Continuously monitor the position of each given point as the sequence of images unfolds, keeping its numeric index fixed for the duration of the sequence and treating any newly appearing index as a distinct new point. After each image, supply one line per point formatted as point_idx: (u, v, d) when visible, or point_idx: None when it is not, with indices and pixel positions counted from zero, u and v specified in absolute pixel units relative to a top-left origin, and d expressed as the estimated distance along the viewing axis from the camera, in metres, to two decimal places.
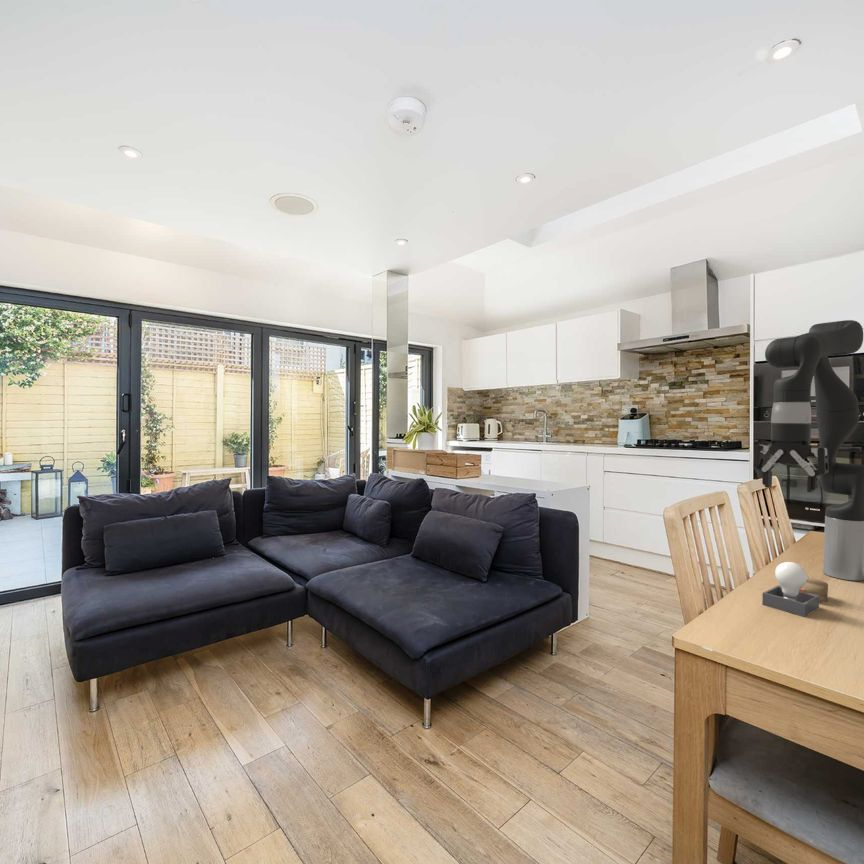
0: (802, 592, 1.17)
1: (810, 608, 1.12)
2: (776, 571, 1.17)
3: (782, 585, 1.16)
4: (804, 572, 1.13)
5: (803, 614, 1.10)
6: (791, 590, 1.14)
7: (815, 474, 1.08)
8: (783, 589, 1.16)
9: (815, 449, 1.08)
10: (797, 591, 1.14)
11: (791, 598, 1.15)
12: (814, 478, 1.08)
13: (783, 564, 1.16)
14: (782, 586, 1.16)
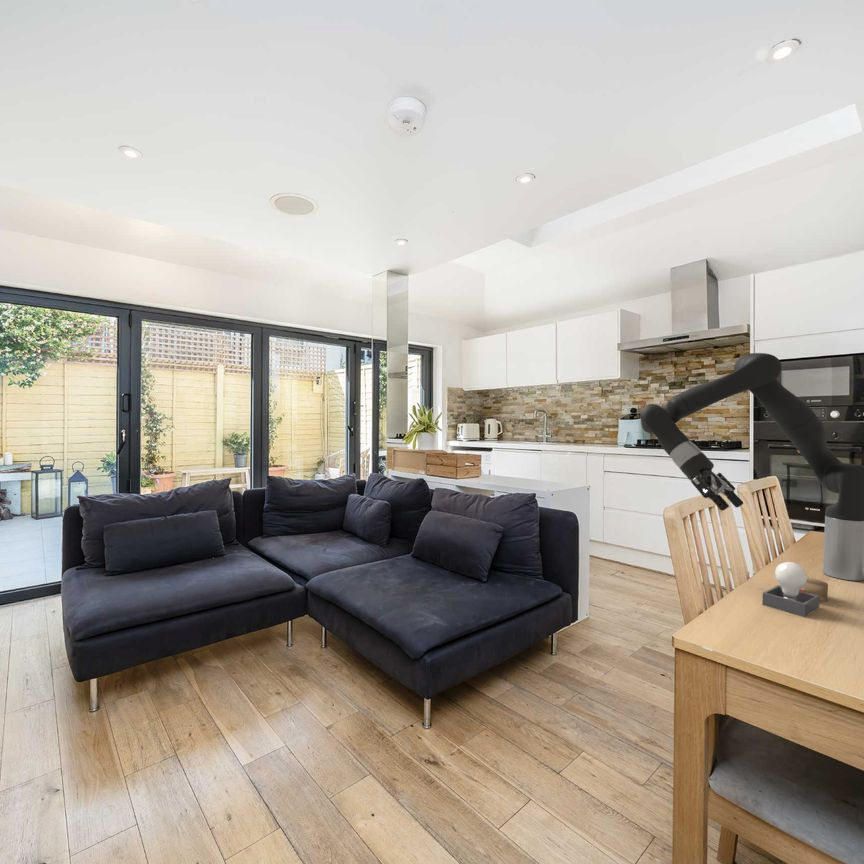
0: (802, 592, 1.17)
1: (810, 608, 1.12)
2: (776, 571, 1.17)
3: (782, 585, 1.16)
4: (804, 572, 1.13)
5: (803, 614, 1.10)
6: (791, 590, 1.14)
7: (709, 498, 1.26)
8: (783, 589, 1.16)
9: None
10: (797, 591, 1.14)
11: (791, 598, 1.15)
12: None
13: (783, 564, 1.16)
14: (782, 586, 1.16)
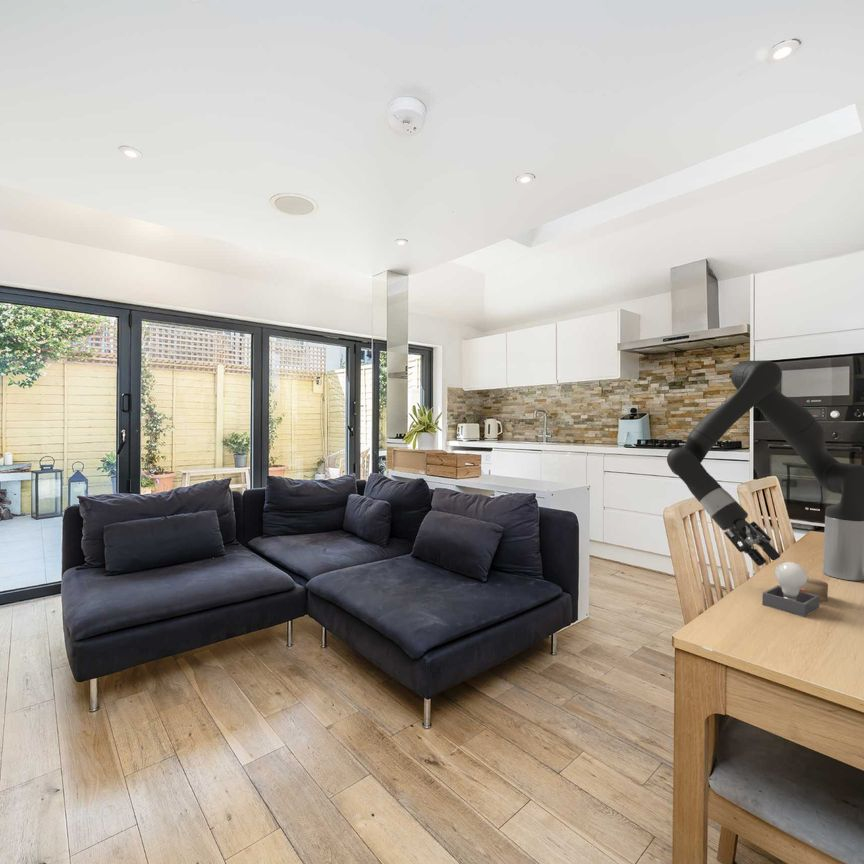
0: (802, 592, 1.17)
1: (810, 608, 1.12)
2: (776, 571, 1.17)
3: (782, 585, 1.16)
4: (804, 572, 1.13)
5: (803, 614, 1.10)
6: (791, 590, 1.14)
7: (745, 551, 1.19)
8: (783, 589, 1.16)
9: None
10: (797, 591, 1.14)
11: (791, 598, 1.15)
12: None
13: (783, 564, 1.16)
14: (782, 586, 1.16)
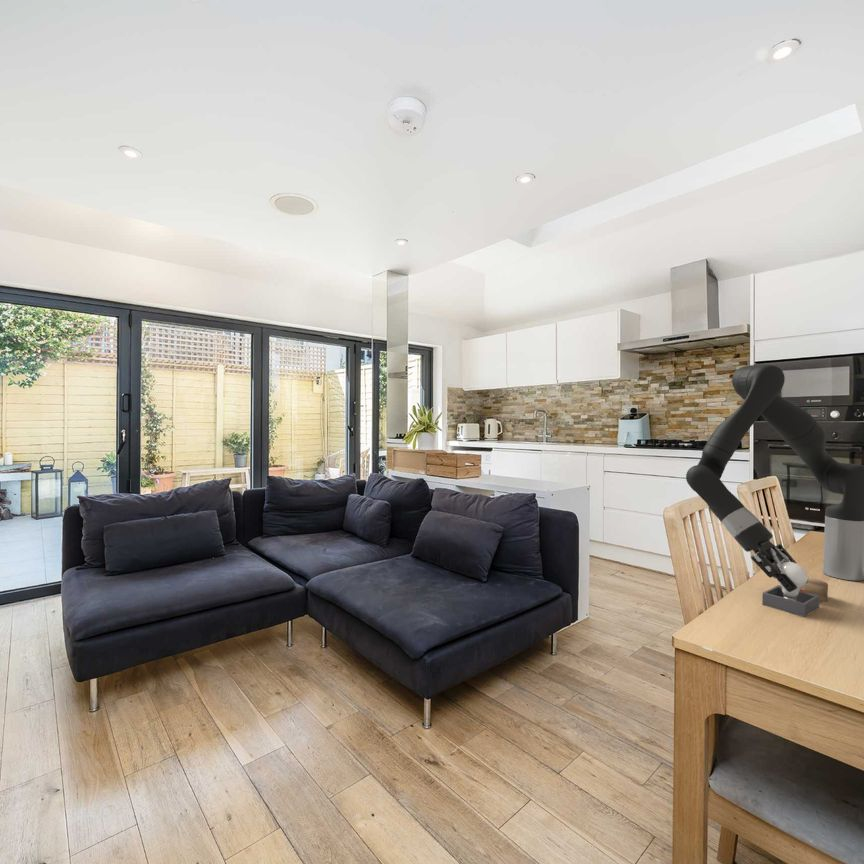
0: (802, 592, 1.17)
1: (810, 608, 1.12)
2: None
3: (782, 585, 1.16)
4: (804, 572, 1.13)
5: (803, 614, 1.10)
6: None
7: (774, 576, 1.15)
8: (783, 589, 1.16)
9: None
10: (797, 591, 1.14)
11: (791, 598, 1.15)
12: None
13: (783, 564, 1.16)
14: (782, 586, 1.16)
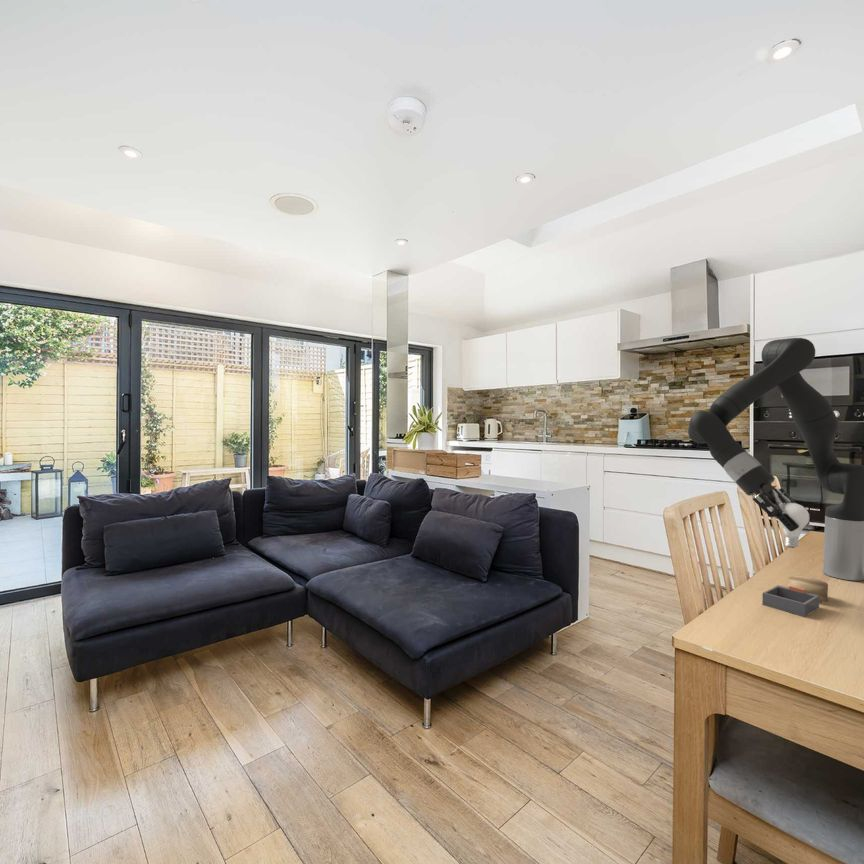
0: (802, 592, 1.17)
1: (810, 608, 1.12)
2: None
3: (784, 526, 1.15)
4: (806, 512, 1.13)
5: (803, 614, 1.10)
6: None
7: (776, 517, 1.14)
8: (785, 530, 1.15)
9: None
10: (799, 531, 1.14)
11: (793, 538, 1.14)
12: None
13: (785, 505, 1.15)
14: (784, 527, 1.15)
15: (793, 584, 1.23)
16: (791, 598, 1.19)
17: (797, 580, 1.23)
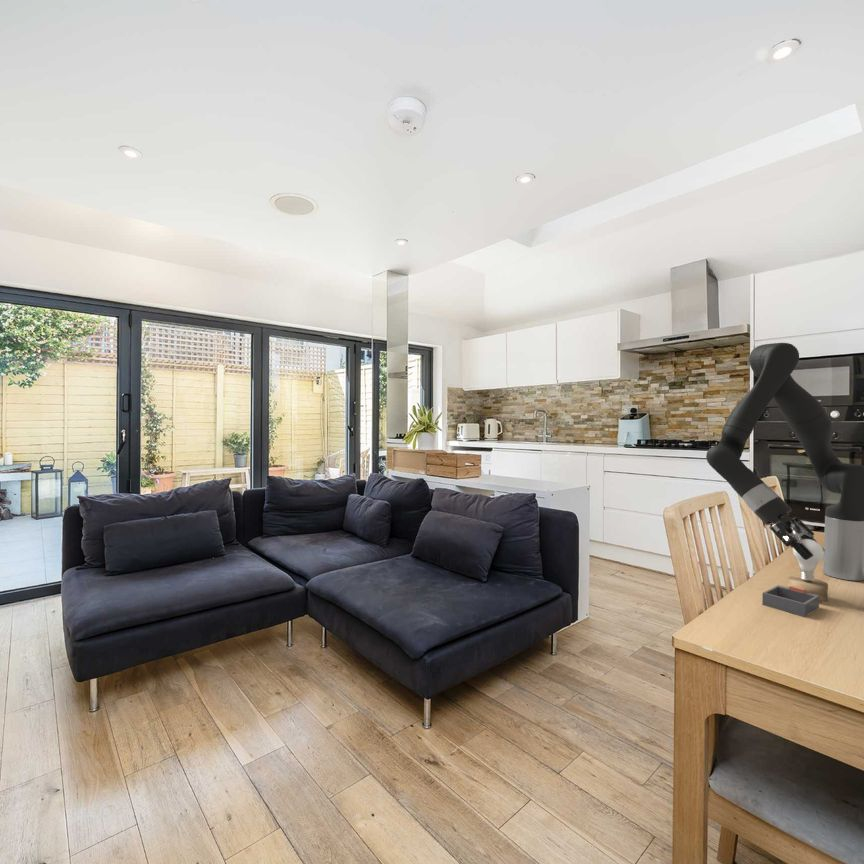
0: (802, 592, 1.17)
1: (810, 608, 1.12)
2: None
3: (800, 561, 1.22)
4: (821, 548, 1.20)
5: (803, 614, 1.10)
6: (808, 565, 1.21)
7: (791, 546, 1.21)
8: (801, 564, 1.23)
9: None
10: (814, 566, 1.21)
11: (808, 573, 1.21)
12: None
13: (801, 541, 1.23)
14: (800, 562, 1.23)
15: (793, 584, 1.23)
16: (791, 598, 1.19)
17: (797, 580, 1.23)
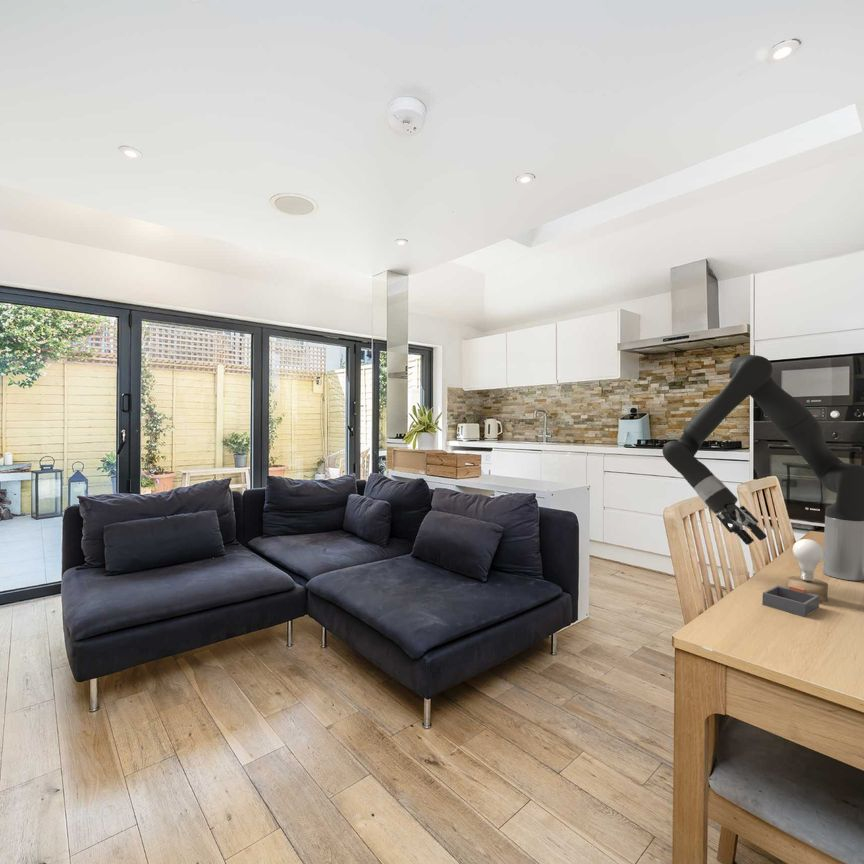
0: (802, 592, 1.17)
1: (810, 608, 1.12)
2: (794, 548, 1.23)
3: (800, 561, 1.22)
4: (821, 548, 1.20)
5: (803, 614, 1.10)
6: (808, 565, 1.21)
7: (734, 532, 1.32)
8: (801, 565, 1.22)
9: None
10: (814, 566, 1.21)
11: (808, 573, 1.21)
12: None
13: (801, 541, 1.22)
14: (800, 562, 1.22)
15: (793, 584, 1.23)
16: (791, 598, 1.19)
17: (797, 580, 1.23)
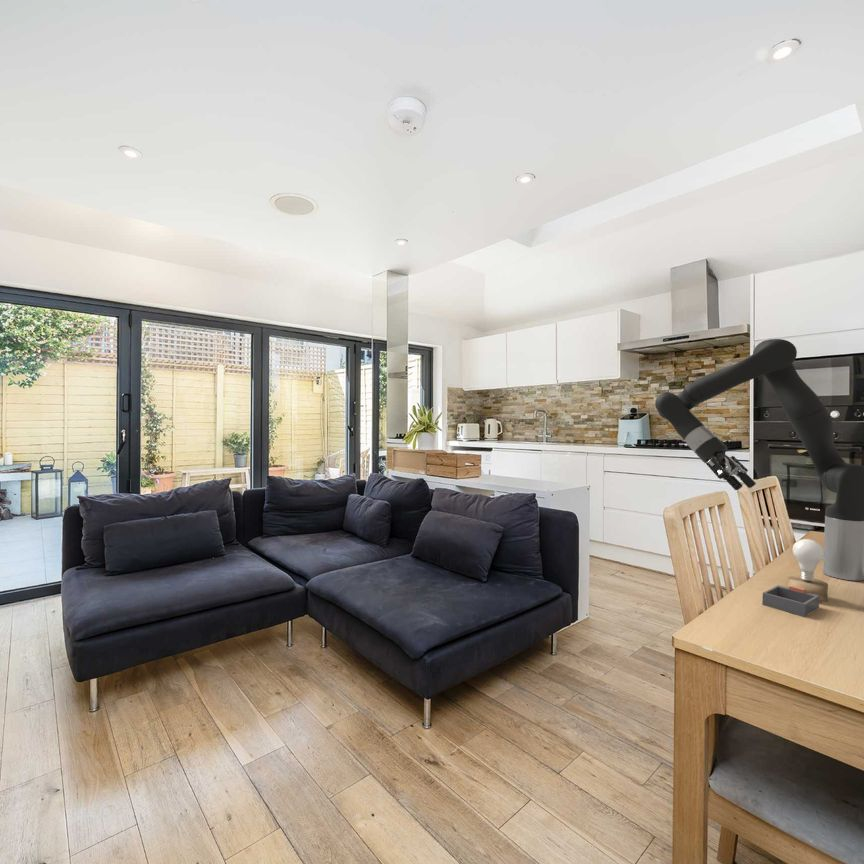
0: (802, 592, 1.17)
1: (810, 608, 1.12)
2: (794, 548, 1.23)
3: (800, 561, 1.22)
4: (821, 548, 1.20)
5: (803, 614, 1.10)
6: (808, 565, 1.21)
7: (724, 478, 1.33)
8: (801, 565, 1.22)
9: None
10: (814, 566, 1.21)
11: (808, 573, 1.21)
12: None
13: (801, 541, 1.22)
14: (800, 562, 1.22)
15: (793, 584, 1.23)
16: (791, 598, 1.19)
17: (797, 580, 1.23)
